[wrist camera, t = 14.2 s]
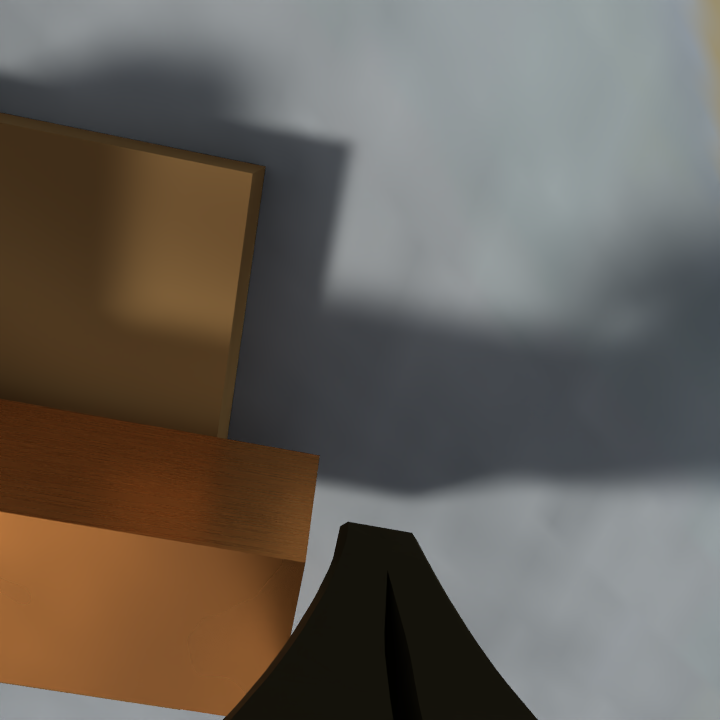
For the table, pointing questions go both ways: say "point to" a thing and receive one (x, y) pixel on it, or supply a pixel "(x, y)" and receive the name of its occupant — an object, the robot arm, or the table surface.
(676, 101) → the table surface
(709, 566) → the table surface
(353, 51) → the table surface
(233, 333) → the press
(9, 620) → the clamp jaw
